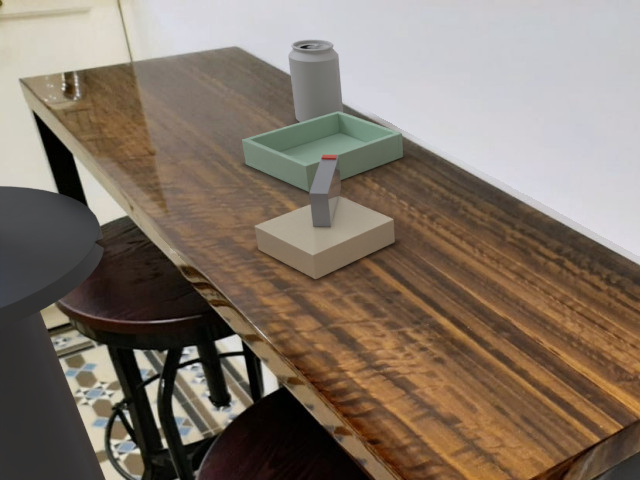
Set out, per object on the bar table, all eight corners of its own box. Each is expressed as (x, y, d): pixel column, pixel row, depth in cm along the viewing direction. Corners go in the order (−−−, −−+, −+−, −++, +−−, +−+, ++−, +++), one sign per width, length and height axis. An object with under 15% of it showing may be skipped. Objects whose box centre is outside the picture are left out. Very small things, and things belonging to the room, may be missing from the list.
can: (311, 112, 123) (303, 34, 116) (352, 118, 121) (346, 40, 114) (287, 126, 117) (276, 45, 110) (329, 133, 116) (321, 52, 108)
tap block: (315, 279, 80) (312, 255, 78) (258, 249, 85) (253, 225, 83) (395, 242, 88) (393, 218, 86) (338, 216, 92) (335, 193, 91)
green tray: (308, 192, 98) (305, 166, 96) (245, 164, 104) (241, 139, 102) (403, 157, 109) (402, 132, 107) (340, 133, 116) (338, 110, 113)
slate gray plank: (331, 226, 83) (327, 191, 81) (313, 226, 83) (308, 191, 81) (341, 187, 92) (338, 154, 90) (325, 187, 92) (321, 153, 89)
